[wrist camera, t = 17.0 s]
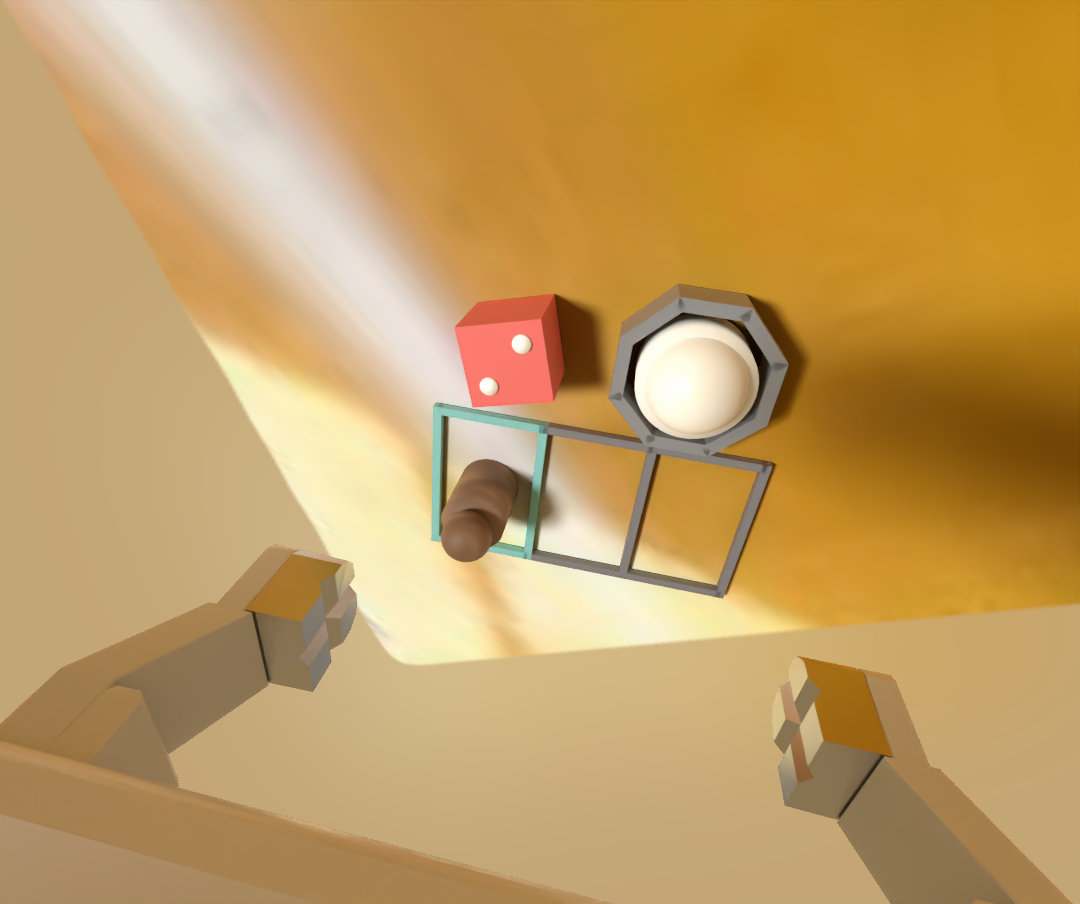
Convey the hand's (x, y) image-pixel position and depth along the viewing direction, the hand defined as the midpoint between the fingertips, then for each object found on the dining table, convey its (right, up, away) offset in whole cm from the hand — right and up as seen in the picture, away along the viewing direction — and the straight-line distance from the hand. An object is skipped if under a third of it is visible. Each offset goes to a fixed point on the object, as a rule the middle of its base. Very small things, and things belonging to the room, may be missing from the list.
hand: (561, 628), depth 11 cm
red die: (-2, +11, +27) cm, 29 cm away
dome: (+9, +9, +26) cm, 29 cm away
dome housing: (+9, +9, +26) cm, 29 cm away
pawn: (-4, +1, +34) cm, 34 cm away
